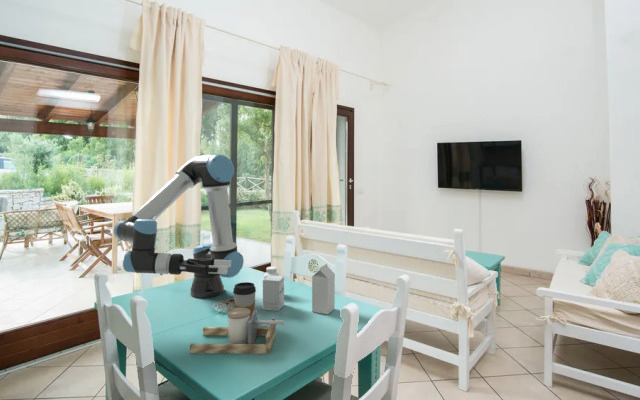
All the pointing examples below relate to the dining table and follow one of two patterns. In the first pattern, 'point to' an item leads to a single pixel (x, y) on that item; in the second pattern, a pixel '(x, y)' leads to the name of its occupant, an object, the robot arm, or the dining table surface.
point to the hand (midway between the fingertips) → (229, 266)
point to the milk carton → (323, 290)
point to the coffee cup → (245, 296)
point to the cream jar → (238, 325)
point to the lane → (236, 348)
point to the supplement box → (273, 293)
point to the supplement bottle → (271, 272)
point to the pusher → (253, 326)
